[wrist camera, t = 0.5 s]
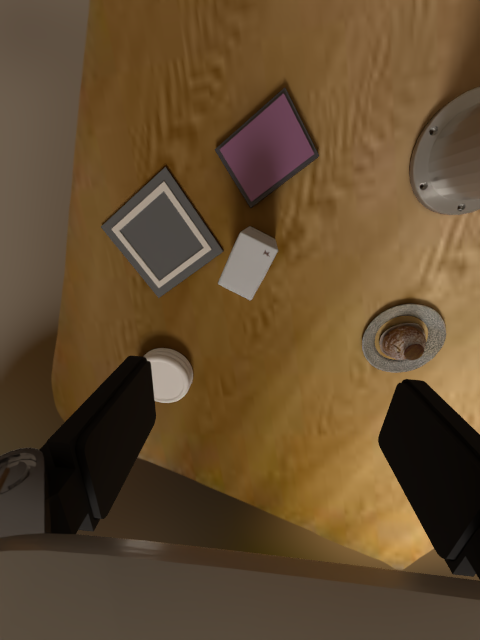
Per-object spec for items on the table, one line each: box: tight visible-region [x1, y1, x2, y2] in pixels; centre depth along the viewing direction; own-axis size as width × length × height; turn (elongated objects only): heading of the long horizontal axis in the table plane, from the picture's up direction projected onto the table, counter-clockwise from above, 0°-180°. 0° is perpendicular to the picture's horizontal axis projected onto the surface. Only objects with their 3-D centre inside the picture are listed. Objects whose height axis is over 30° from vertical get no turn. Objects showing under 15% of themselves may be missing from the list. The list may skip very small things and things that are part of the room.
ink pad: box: [215, 88, 319, 208], centre depth 30 cm, size 10×8×2 cm
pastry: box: [362, 304, 446, 373], centre depth 37 cm, size 12×12×5 cm
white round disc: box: [143, 348, 193, 403], centre depth 44 cm, size 10×10×4 cm
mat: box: [101, 167, 223, 298], centre depth 36 cm, size 13×13×1 cm
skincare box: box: [218, 226, 278, 300], centre depth 30 cm, size 6×4×12 cm
